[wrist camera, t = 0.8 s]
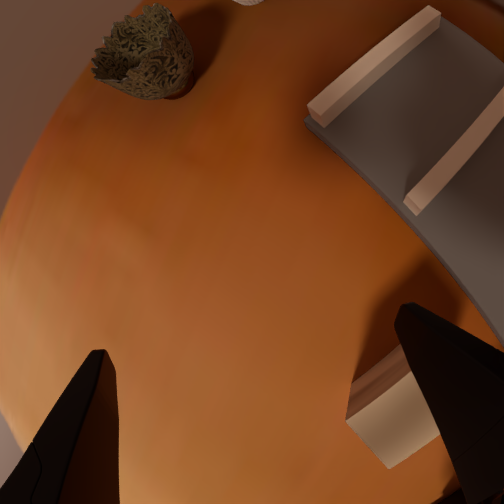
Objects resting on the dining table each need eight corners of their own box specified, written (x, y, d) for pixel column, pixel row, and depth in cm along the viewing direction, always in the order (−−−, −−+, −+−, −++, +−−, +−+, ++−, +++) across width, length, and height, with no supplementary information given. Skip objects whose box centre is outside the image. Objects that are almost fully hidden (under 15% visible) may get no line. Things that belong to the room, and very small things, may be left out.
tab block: (443, 376, 17) (468, 410, 11) (385, 423, 18) (388, 469, 12) (410, 334, 18) (428, 356, 13) (351, 383, 19) (345, 421, 14)
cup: (220, 45, 25) (176, -10, 17) (214, 111, 24) (159, 58, 16) (152, 66, 27) (102, 24, 20) (141, 128, 26) (80, 92, 19)
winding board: (609, 208, 12) (629, 201, 9) (511, 359, 15) (529, 370, 12) (431, 19, 18) (434, -4, 15) (306, 127, 21) (297, 107, 19)
